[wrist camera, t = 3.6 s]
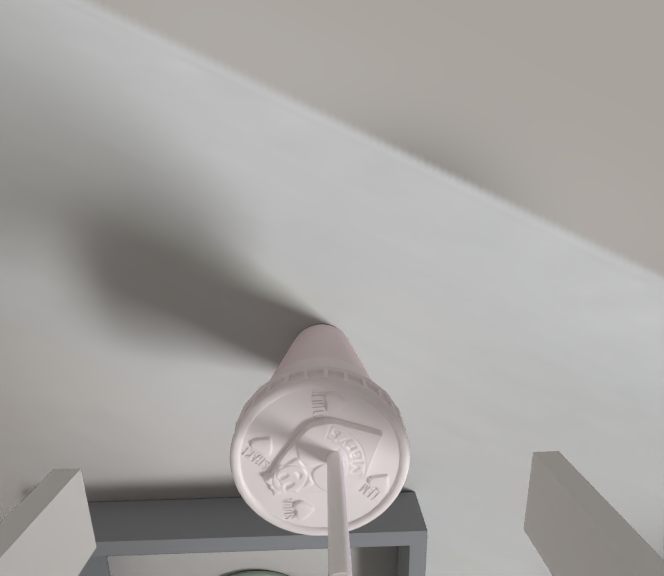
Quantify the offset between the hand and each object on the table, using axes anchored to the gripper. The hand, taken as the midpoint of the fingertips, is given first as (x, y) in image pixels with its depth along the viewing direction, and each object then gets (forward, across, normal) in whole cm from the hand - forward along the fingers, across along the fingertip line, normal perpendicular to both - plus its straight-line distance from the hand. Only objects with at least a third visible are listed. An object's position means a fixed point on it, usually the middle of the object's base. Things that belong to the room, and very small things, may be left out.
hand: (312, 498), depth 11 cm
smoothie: (+12, 0, 0) cm, 12 cm away
